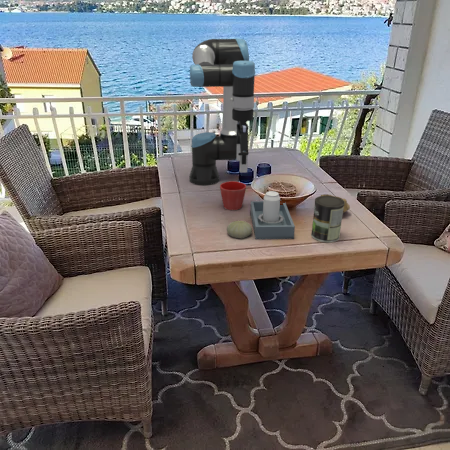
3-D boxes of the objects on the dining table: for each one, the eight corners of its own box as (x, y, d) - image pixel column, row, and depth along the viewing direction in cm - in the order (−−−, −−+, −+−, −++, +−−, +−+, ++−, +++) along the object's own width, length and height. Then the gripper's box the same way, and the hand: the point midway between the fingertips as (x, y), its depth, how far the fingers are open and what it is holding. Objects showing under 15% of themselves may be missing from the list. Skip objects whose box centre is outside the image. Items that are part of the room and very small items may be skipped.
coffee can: (312, 242, 145) (316, 205, 139) (310, 229, 154) (313, 194, 148) (341, 243, 144) (346, 207, 138) (337, 230, 153) (342, 196, 147)
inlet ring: (256, 217, 162) (256, 212, 161) (281, 217, 162) (281, 212, 161) (259, 227, 153) (259, 223, 152) (285, 227, 153) (285, 222, 152)
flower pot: (243, 212, 168) (244, 190, 164) (217, 210, 170) (217, 188, 166) (247, 203, 177) (248, 182, 173) (222, 201, 179) (222, 180, 175)
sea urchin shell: (227, 223, 155) (242, 210, 151) (241, 237, 156) (256, 225, 153) (222, 233, 147) (238, 220, 143) (237, 248, 148) (253, 236, 145)
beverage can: (261, 225, 155) (263, 195, 150) (263, 218, 161) (264, 190, 155) (278, 226, 154) (280, 197, 149) (279, 219, 160) (280, 191, 154)
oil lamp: (324, 203, 177) (326, 186, 174) (354, 214, 167) (357, 196, 164) (308, 210, 171) (310, 192, 168) (339, 221, 161) (341, 202, 157)
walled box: (250, 212, 168) (250, 201, 166) (283, 212, 169) (284, 201, 167) (255, 239, 147) (255, 226, 145) (293, 238, 147) (294, 226, 145)
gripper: (229, 101, 154) (229, 156, 163) (235, 115, 131) (234, 177, 141) (249, 101, 154) (248, 155, 164) (258, 115, 132) (255, 177, 141)
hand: (241, 166), depth 152 cm, fingers open, 13 cm apart
